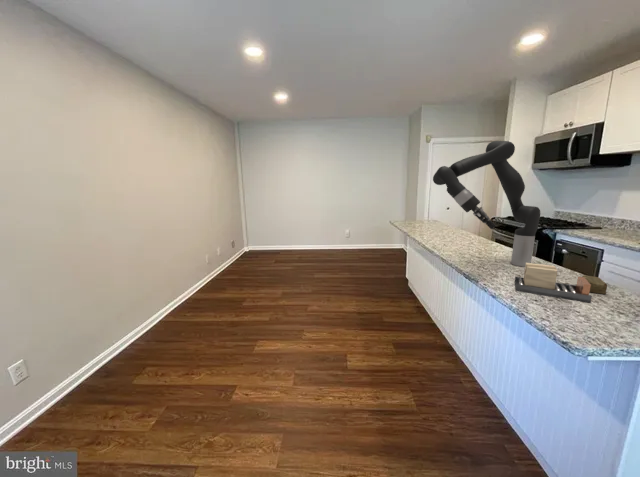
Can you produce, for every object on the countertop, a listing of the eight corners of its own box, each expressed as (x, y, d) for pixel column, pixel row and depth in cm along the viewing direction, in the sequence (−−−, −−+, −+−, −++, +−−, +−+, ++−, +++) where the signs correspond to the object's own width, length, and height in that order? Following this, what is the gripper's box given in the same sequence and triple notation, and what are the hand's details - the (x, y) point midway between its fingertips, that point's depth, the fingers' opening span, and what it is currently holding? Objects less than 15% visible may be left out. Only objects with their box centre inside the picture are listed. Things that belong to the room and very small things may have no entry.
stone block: (588, 293, 117) (590, 281, 116) (579, 284, 127) (581, 274, 126) (606, 295, 114) (609, 284, 113) (596, 286, 124) (598, 276, 123)
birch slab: (523, 279, 126) (525, 262, 124) (551, 283, 121) (554, 266, 119) (524, 284, 119) (527, 267, 118) (554, 289, 114) (557, 271, 113)
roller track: (514, 282, 130) (516, 268, 128) (583, 292, 117) (586, 276, 116) (515, 290, 120) (517, 275, 119) (590, 302, 107) (594, 286, 106)
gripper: (472, 195, 123) (501, 224, 119) (474, 194, 135) (501, 220, 131) (458, 206, 127) (485, 235, 123) (461, 204, 139) (487, 230, 135)
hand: (493, 227), depth 127 cm, fingers closed
